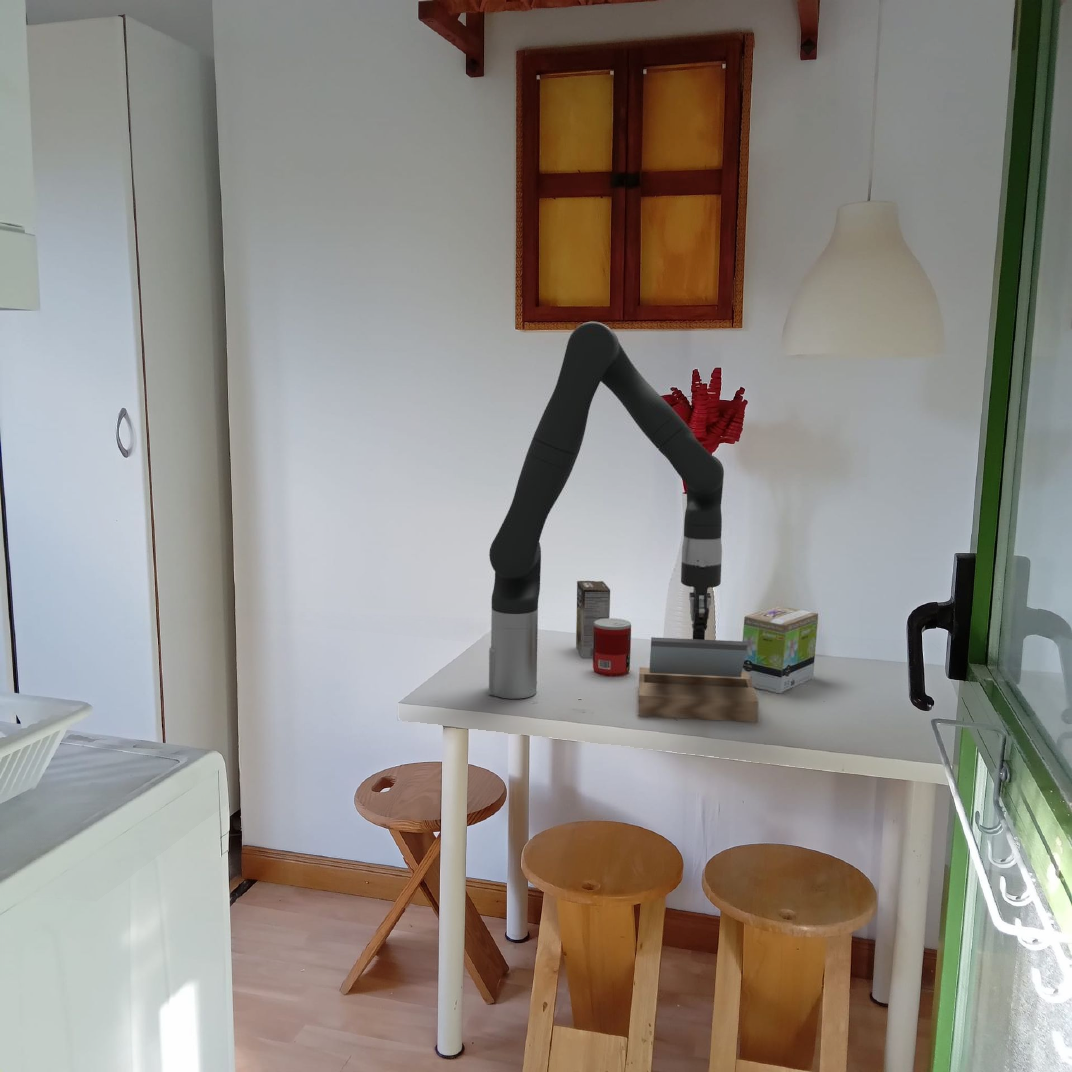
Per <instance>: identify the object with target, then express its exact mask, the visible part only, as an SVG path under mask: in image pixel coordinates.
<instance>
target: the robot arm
mask: <svg viewBox="0 0 1072 1072" xmlns="http://www.w3.org/2000/svg"><path fill="white" fill-rule="evenodd" d="M565 348H566V349H565V351H564V357H563V360H562V364H561V367H560V370H559V371H560V372H559V376H558V377H557V378H558V379H557V381H556V385H555V388H554V389H553V392H552V394H551V396H550V399H549V401H548V402H547V405H546V406H545V409H544V411H543V413H542V415H541V418H540V420H539V421H538V422H539V423H538V425H537V428H536V429H535V431H534V434H533V436H532V440H531V441H530V444H529V447H528V450H527V452H526V455H525V459H524V461H523V465H522V468H521V471H520V474H519V476H518V480H517V483H516V488H515V492H514V494H513V498H512V502H511V504H510V507H509V509H508V511H507V513H506V516H505V517H504V520H503V522H502V523H501V526H500V528H499V530H498V532H497V534H496V535H495V537H494V538H493V541H492V543H491V544H490V548H489V553H488V556H489V562H490V564H491V565H490V566H491V568H492V569H493V571H494V584H493V590H492V595H491V614H490V615H491V616H490V617H491V623H490V624H491V626H490V627H491V630H490V631H491V632H490V633H491V635H490V636H491V637H490V638H491V640H490V647H489V651H488V695H489V696H495V697H498V698H503V699H512V700H513V699H514V700H515V699H527V698H530V697H532V696H535V695H536V694H537V686H538V685H537V684H538V635H539V634H538V631H539V630H538V629H539V626H538V623H539V621H538V619H539V618H538V617H539V598H540V590H541V568H542V567H541V564H542V548H541V544H540V539H541V536H542V533H543V529H544V527H545V524H546V520H547V518H548V515H549V514H550V513H551V511H552V509H553V507H554V505H555V504H556V502H557V500H558V499H559V496H560V495H561V493H562V492H563V490H564V488H565V486H566V484H567V482H568V480H569V477H570V476H571V474H572V471H573V469H574V466H575V463H576V461H577V459H578V456H579V453H580V450H581V447H582V444H583V440H584V436H585V432H586V429H587V424H588V423H587V422H588V418H589V413H590V408H591V405H592V402H593V399H594V396H595V394H596V392H597V390H598V388H599V386H600V383H602V384H604V386H606V387H607V388H608V390H609V391H611V392H612V394H613V395H614V396H615V397H616V398H617V399H618V401H619V402H620V403H621V404H622V406H624V408H625V410H626V411H627V412H628V414H629V415H630V417H631V418H632V419H633V421H634V422H635V424H636V425H637V426H638V428H639V429H640V430H641V432H642V433H643V434H644V435H645V436H646V438H647V439H648V440H649V441H650V442H651V443H652V444H653V445H654V446H655V448H656V449H658V451H659V452H660V453H661V454H662V455H663V456H664V457H665V458H666V460H668V461H669V463H670V464H671V466H672V467H673V469H674V470H675V471H676V472H677V474H678V475H679V477H680V478H681V479H682V481H683V482H684V483H685V484H686V506H685V507H686V508H685V512H684V519H683V520H684V521H683V522H684V523H683V540H682V544H681V545H682V546H681V564H680V565H681V567H680V583H681V584H682V585H684V586H685V587H689V588H691V587H693V589H692V590H693V591H692V592H691V591H690V592H689V593H688V594H689V595H688V597H689V598H688V600H689V608H690V609H689V615H690V619H691V620H690V621H691V628H692V639H700V640H706V639H705V636H706V631H707V629H708V620H709V619H710V606H711V605H712V596H711V592H708V589H710V588H712V589H713V588H717V587H719V586H720V585H721V583H722V561H723V560H722V559H723V558H722V557H723V545H722V530H723V529H722V527H723V523H722V521H723V520H722V499H723V490H724V489H723V488H724V477H725V476H724V475H725V471H724V466H723V463H722V462H721V461H720V459H718V457H716V456H714V455H713V454H711V453H710V452H709V451H708V450H707V449H706V448H705V447H704V445H702V444H701V442H700V441H699V440H697V438H696V437H695V434H694V432H693V431H692V429H691V428H690V427H689V426H688V424H687V423H686V422H685V421H684V420H683V419H682V417H680V415H679V414H678V413H677V412H676V411H675V410H674V408H673V407H672V406H671V405H670V404H669V403H668V402H667V401H666V400H665V399H664V398H663V396H661V395H660V393H658V392H657V391H656V390H655V389H654V388H653V386H652V385H651V384H650V383H648V381H647V380H646V379H645V378H644V377H643V376H642V374H641V373H640V372H639V370H638V369H637V368H636V367H635V365H634V364H633V363H632V361H631V359H630V358H629V357H628V355H627V352H625V350H624V348H623V347H622V345H621V343H620V342H619V338H618V336H617V335H616V333H615V332H614V331H613V330H612V329H611V328H610V327H608V326H607V325H606V324H604V323H601V322H598V321H588V322H587V321H586V322H584V323H582V324H580V325H578V326H577V327H575V329H573V331H572V333H570V336H569V338H568V341H567V343H566V347H565Z"/></svg>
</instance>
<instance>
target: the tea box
mask: <svg viewBox="0 0 1072 1072" xmlns="http://www.w3.org/2000/svg"><path fill="white" fill-rule="evenodd" d="M818 624H819V613H817V612H813V611H807V610H803V609H798V608H791V607H786V606H780V605H776V606H773V607H768V608H767V609H766V608H765V609H763V610H761V611H758V612H755V613H751V614H748V615H745V616H744V620H743V629H742V630H743V631H742V641H746V642H747V643H748V646H747V650H746V655H745V660H744V664H743V669H742V672H747V673H749V676H750V679H751V682H752V685H753V688H756V689H759V690H764V691H768V692H773V693H778V694H782V693H783V692H785V691H788V690H789V689H791V688H794V687H796V686H798V685H800V684H802V683H805V682H807V681H810V680H812V679H813V678H814V671H815V658H816V657H815V656H816V645H817V636H818V635H817V633H818Z"/></svg>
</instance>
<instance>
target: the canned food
mask: <svg viewBox="0 0 1072 1072" xmlns="http://www.w3.org/2000/svg"><path fill="white" fill-rule="evenodd" d="M631 640H632V622H631V621H629V620H626V619H622V618H611V617H609V618H606V619H599V620H596V621H595V622H594V638H593V658H592V670H593V672H594V673H595V674H597V675H598V676H604V677H609V678H610V677H611V678H612V677H614V678H615V677H616V678H618V677H623V676H626V675H628V674H629V672H630V668H631V645H632V644H631V643H632V641H631Z"/></svg>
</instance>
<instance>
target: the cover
mask: <svg viewBox="0 0 1072 1072" xmlns="http://www.w3.org/2000/svg"><path fill="white" fill-rule="evenodd" d="M747 646H748V643H747V642H746V641H743V640H721V639H720V640H718V639H705V640H700V639H693V638H675V637H674V638H673V637H653V636H652V637H651V638H650V654H649V655H650V656H649V668H650V670H649V673H664V674H685V675H706V676H726V677H741V674H742V669H743V664H744V660H745V655H746V650H747Z"/></svg>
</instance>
